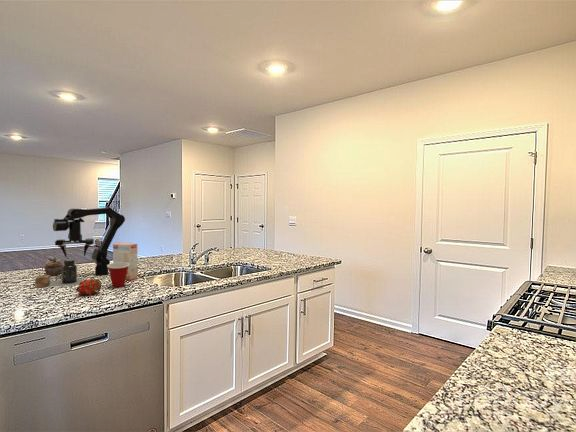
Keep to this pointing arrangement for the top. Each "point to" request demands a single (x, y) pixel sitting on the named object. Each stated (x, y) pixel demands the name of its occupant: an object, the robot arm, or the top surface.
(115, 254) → the cracker box
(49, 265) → the cupcake
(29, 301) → the top surface
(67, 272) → the supplement bottle
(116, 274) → the plastic cup
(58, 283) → the gray board
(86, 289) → the dragon fruit
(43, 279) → the walnut block
